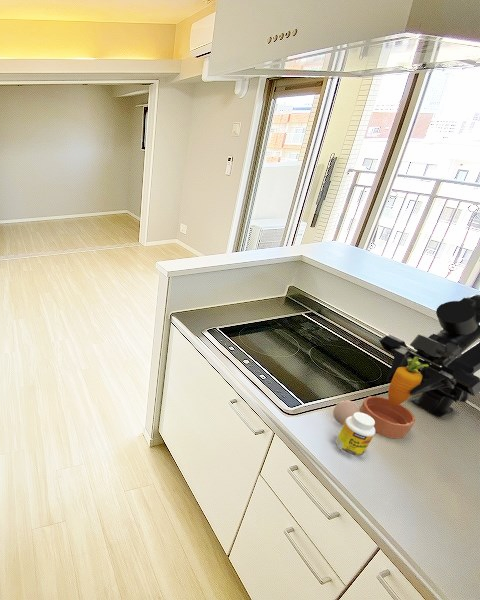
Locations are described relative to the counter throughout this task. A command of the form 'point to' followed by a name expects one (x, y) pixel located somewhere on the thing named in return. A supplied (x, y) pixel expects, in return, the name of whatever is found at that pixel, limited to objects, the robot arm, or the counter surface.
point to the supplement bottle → (356, 434)
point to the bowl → (388, 417)
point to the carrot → (404, 382)
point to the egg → (344, 411)
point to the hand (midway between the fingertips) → (398, 387)
